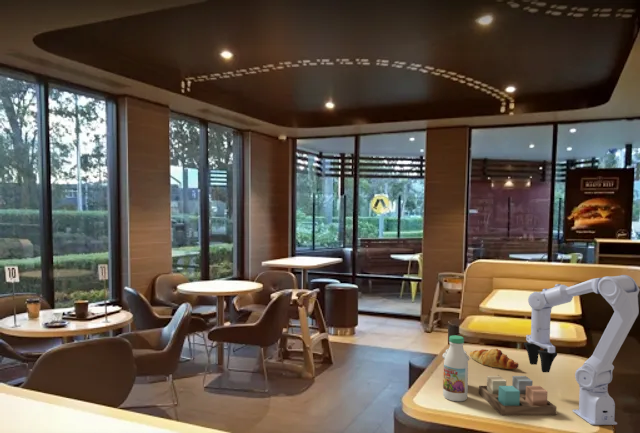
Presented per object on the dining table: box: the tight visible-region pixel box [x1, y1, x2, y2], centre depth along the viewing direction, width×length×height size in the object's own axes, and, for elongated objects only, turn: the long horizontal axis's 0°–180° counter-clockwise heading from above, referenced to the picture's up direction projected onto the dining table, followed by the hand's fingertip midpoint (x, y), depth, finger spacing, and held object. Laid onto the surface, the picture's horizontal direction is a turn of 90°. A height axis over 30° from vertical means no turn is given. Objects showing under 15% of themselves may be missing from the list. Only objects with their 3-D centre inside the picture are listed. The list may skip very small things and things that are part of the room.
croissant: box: [469, 348, 519, 370], centre depth 188 cm, size 21×10×8 cm, turn 41°
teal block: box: [498, 385, 520, 406], centre depth 144 cm, size 4×4×6 cm
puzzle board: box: [478, 375, 557, 416], centre depth 149 cm, size 17×17×6 cm
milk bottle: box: [442, 334, 469, 402], centre depth 153 cm, size 8×8×20 cm
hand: (539, 368), depth 155 cm, fingers open, 7 cm apart
